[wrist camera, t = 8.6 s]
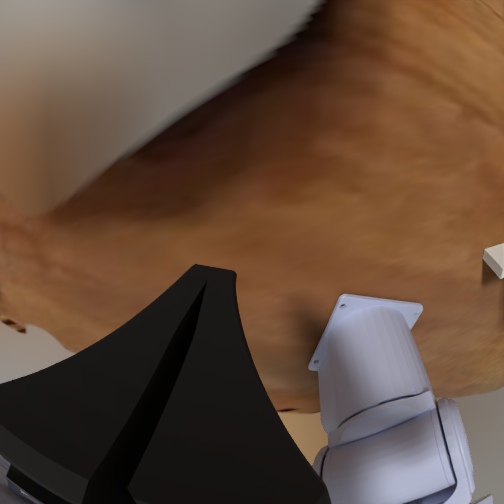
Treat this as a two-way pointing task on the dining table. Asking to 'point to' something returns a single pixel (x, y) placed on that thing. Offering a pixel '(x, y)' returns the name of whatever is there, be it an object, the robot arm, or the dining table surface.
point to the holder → (495, 259)
